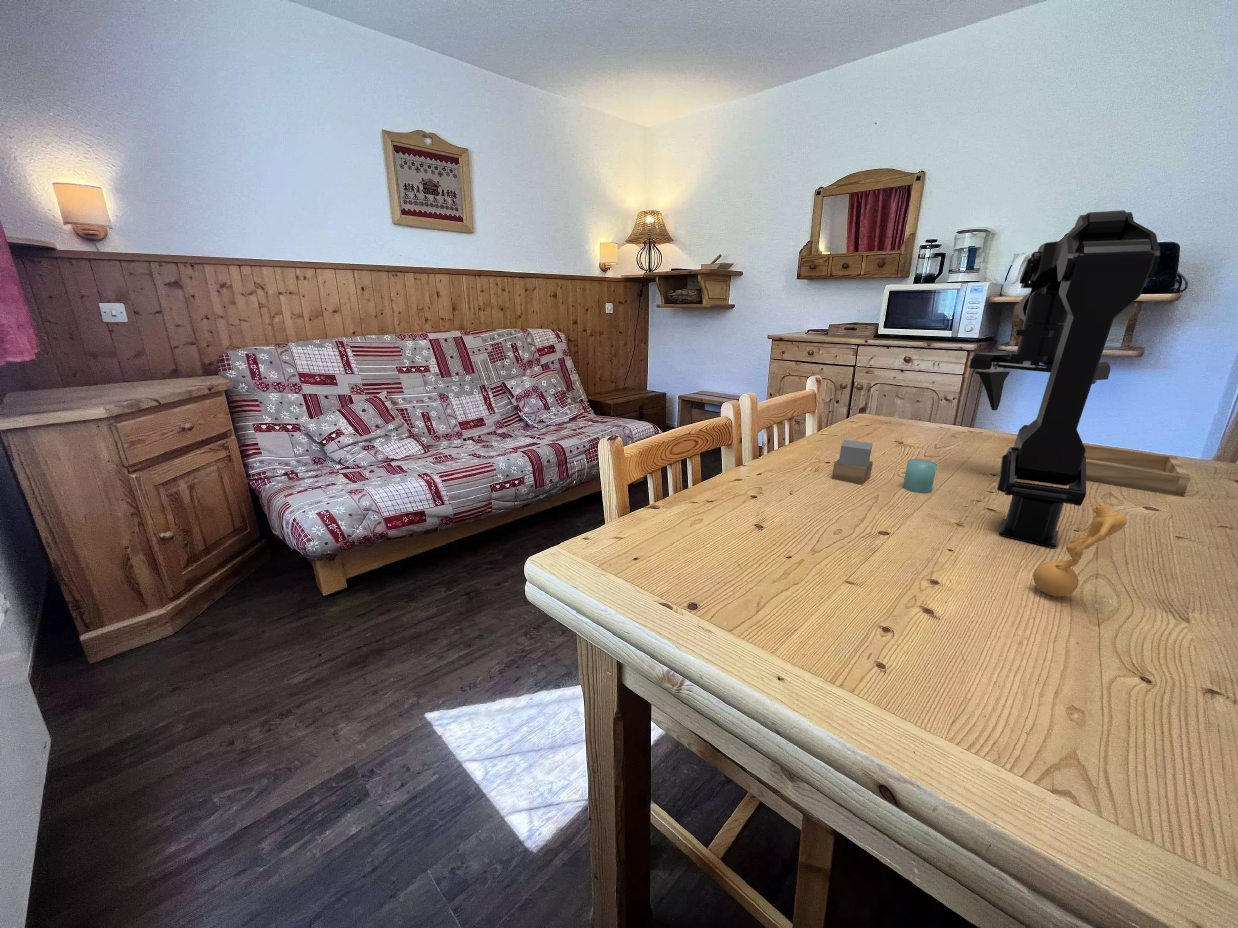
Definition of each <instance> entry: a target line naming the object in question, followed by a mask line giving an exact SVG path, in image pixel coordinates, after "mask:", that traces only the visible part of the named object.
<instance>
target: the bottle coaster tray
mask: <svg viewBox="0 0 1238 928" xmlns="http://www.w3.org/2000/svg"><path fill="white" fill-rule="evenodd" d="M1083 445H1084V447H1085V450H1086V452H1085V457H1086V482H1087V481H1088V482H1093V483H1097V484H1098V483H1099V484H1105V485H1110V486H1116V487H1122V488H1130V489H1136V490H1139V491H1140V490H1141V491H1147V492H1152V491H1153V493H1157V492H1159V493H1158V494H1163V493H1164V494H1163V495H1169V494H1170V496H1175V495H1177V497H1181V496H1182V497H1184V496H1185V494H1186V491H1187V489H1188V486H1189V483H1190V482H1191V478H1192V477H1191V476H1190V474H1189V473H1188V471H1187V470H1186V469H1185V467H1184V465H1183V464H1182V462H1181V461H1180V460H1179V459H1178V457H1177V456H1172V455H1165V454H1157V453H1152V452H1151V453H1150V452H1143V451H1135V450H1128V449H1120V448H1113V447H1106V446H1105V447H1104V446H1098V445H1090V444H1084V443H1083Z"/></svg>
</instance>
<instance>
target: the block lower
mask: <svg viewBox="0 0 1238 928" xmlns="http://www.w3.org/2000/svg"><path fill="white" fill-rule="evenodd" d="M873 463H874V461H873V460H870V461H869V464H868V468H866V467H859V466H852V465H845V464H839V458H838V459H837V460H835V461H834V462H833V469H832V475H831V479H832V480H835V481H841V482H846V483H850V484H856V485H860V486H863V485H864V484H865V483H866V482H867V481H868V480H870V478H871V476H872V470H873Z"/></svg>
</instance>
